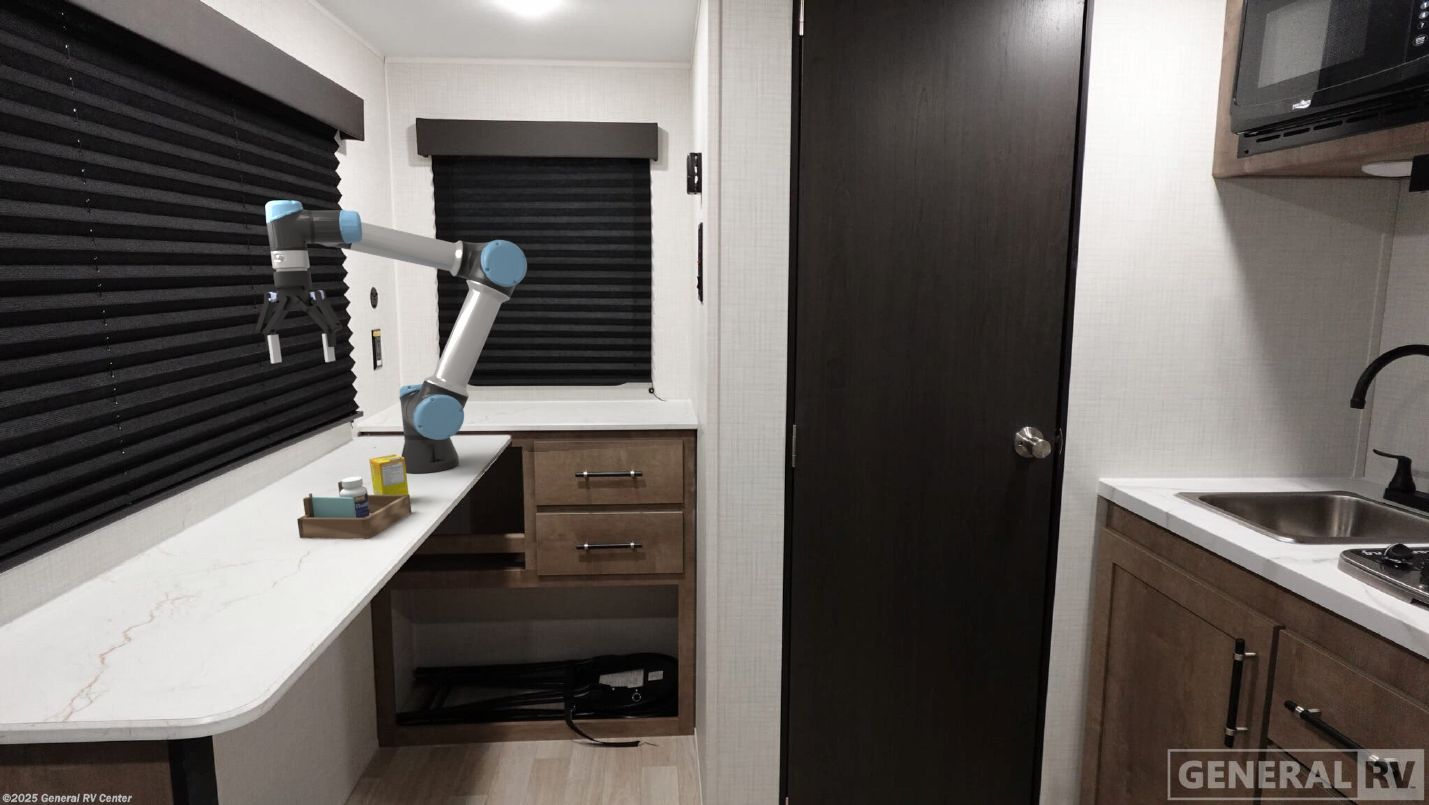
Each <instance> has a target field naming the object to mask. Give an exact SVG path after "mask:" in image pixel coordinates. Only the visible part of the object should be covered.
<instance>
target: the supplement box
mask: <svg viewBox="0 0 1429 805" xmlns="http://www.w3.org/2000/svg"><path fill="white" fill-rule="evenodd" d="M369 467H370V476H371V482H372V483H371V484H372V491H373V495H410V494H409V486H408V479H407V478H408V477H407V472H406V467H405V459H404V457H401V455H399V454H398V455H397V454H390V455H385V456H381V457H379V456H378V457H375V458H369Z"/></svg>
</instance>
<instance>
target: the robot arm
mask: <svg viewBox="0 0 1429 805" xmlns="http://www.w3.org/2000/svg"><path fill="white" fill-rule="evenodd" d="M264 208H265V220H266V229H267V236H268V241H269V247H270V256H271V257H270V258H271V264H272V269H274V270H275V271H274V272H273V280H274V286H275V288H276V292H275V291H268V292H267V291H266V292H264V294H263V305H262V308H261V310H260V314H259V316H258V320H257V323H256V326H255V329H254V330H255V332H256V333H258V334H263V335H264V340H265V341H264V342H265V347H266V349H267V350H269V354H270V355H269V358H270V364H278V363H282V362H283V361H282V360H283V359H282V354H281V344H280V338H279V333H278V334H277V330H278V328H279V327H280V325H281V324H282V322H283V320H284V319H285V317H286V316H287V314H289V313H290V312H294V311H295V312H296V311H297V312H300V311H301V312H302V311H303V312H304V313H307V315H309V316H310V318H311V319H312V320H313V321H314V322H315V323H316V324H317V325H318V327H320V328H321V329H322V331H323V333H322V334H321V336H322V345H323V346H322V347H323V354H324V360H325V361H324V362H325V363H330V362H335V361H336V356H335V355H336V354H335V347H337V339H336V332H337V331H341V330H342V329H344V327H343V324H342V323H341V321H340V319H339V317H338V315H337V314H336V313H335V311H334V309H333V307H332V306H331V304H330V303H329V301H328V299H327V294H326V291H325V290H324V289H322V290H321V289H319V290H318V289H317V290H314V291H312V284H313V283H312V277H311V276H312V275H311V271H310V270H308V269H309V268H310V266H311V265H310V258H309V253H308V244H319V245H322V246H325V247H329V248H331V247H334V248H338V249H343V250H348V251H349V250H350V251H353V252H359V253H363V254H367V255H373V256H377V257H380V258H387V259H391V260H397V261H402V262H404V263H405V262H406V263H410V264H415V265H420V266H424V267H425V266H426V267H429V268H433V269H437V270H438V269H439V270H443V271H448V272H450V274H451V275H452V276H453V277H458V278H462V279H466V283H467V285H468V286H467V287H468V292H467V295H466V297H465V299H464V302H463V304H462V307H461V309H460V311H459V314H458V317H457V319H456V320H455V323H454V325H453V328H452V331H451V332H450V335H449V338H448V339H447V341H446V344H445V346H444V349H443V351H442V354H441V357H440V358H439V361H438V363H437V365H436V367H435V370H434V373H433V375H431V376H428V377H426V378H424V380H423V382H422V384H421V383H420V384H418V383H417V384H412V385H411V384H410V385H403V386H401V387H400V388H399V401H400V410H401V419H402V428H403V429H402V430H403V438H404V439H403V440H404V442H403V447H402V451H401V455H400V456H401V457H404V459H405V467H406V474H423V473H424V474H425V473H426V474H427V473H436V472H441V471H445V470H449V469H452V468H455V467H457V466H458V465H459V464H460V462H459V461H460V460H459V454H458V451H457V450H456V447H455V446H454V444H453V441H452V439H451V437H453V436H454V435H456V434H457V433H458V432H459V431H460V430H461V428H462V426H463V424H464V420H465V412H464V409H465V407H466V404H467V402H468V399H469V396H470V395H469V393H468V390H467V386H468V383H469V381H470V378H471V376H472V374H473V372H474V369H475V367H476V365H477V362H478V360H479V357H480V355H481V352H482V350H483V347H484V346H485V343H486V341H487V339H488V336H489V334H490V332H491V328H492V326H493V324H494V322H495V320H496V317H497V314H498V312H499V310H500V308H501V305H502V303H505V302H506V301H507V302H508V301H509V300H510V299H511V296H512V294H513V292H514V290H515V287H516V285H518V284H520V282H521V281H522V280H523V279H524V278H525V276H526V273H527V270H528V263H527V258H526V256H525V253H524V252H523V250H522V249H521V248H520V247H519V246H518V245H517V244H515V243H513V242H511V241H509V240H503V239H495V240H492V241H489V242H468V241H463V240H458V241H457V242H450V241H446V240H442V239H438V238H437V239H436V238H432V237H430V236H425V235H419V234H415V233H412V232H408V231H404V230H403V231H401V230H397V229H393V228H389V227H385V226H380V225H376V224H372V223H367V222H362V219H361V216H360V214H359V212H358V211H355V210H345V209H341V210H338V209H337V210H330V209H329V210H311V209H310V210H309V209H304V207H303V204H302V202H300V201H298V200H271V201H268V202H267V203H266V204H265V207H264ZM313 300H314V301H315V303H316V304H317V305H316V304H315V303H314V302H313ZM277 301H278V302H279V303H278V305H277V307H276V302H277ZM317 306H318V307H317ZM318 308H319V309H320V310H319V309H318ZM274 310H275V312H274ZM320 311H321V312H320Z"/></svg>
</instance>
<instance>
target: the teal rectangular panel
mask: <svg viewBox="0 0 1429 805" xmlns="http://www.w3.org/2000/svg"><path fill="white" fill-rule="evenodd" d="M312 502H313V510H314V518H356V511H355V503H354V498H349V497H340V496H337V497H336V496H312Z"/></svg>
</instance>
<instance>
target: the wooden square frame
mask: <svg viewBox="0 0 1429 805" xmlns="http://www.w3.org/2000/svg"><path fill="white" fill-rule="evenodd" d="M337 483H338V486H337V487H338V494H339V496H340V491H341V490H343V489H344V487H342V480H341V481H339V482H337ZM308 496H309V497H308ZM308 496H306V497H303V498H302V501H303V503H302V504H303V509H304V515H303V516H301V517H298V518H297V519H296V520H297V527H298V535H299V539H353V538H364V539H365V540H367V539H368V540H369V539H370V538H372V537H374V536H375V535H377V534H379V533H380V532H382V531H384V530H385V529H387V528H388V527H390V526H392V525H393V524H395V523H397V522H398V521H400V520H402V519H403V518H405V517H407V516H408V515H410V514H411V513H412V504H411V496H410V494H409V495H374V494H368V502H369V511H370V515H369V516H367V517H365V518H314V510H313V502H312V497H313V493H311V492H310V493H308Z"/></svg>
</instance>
